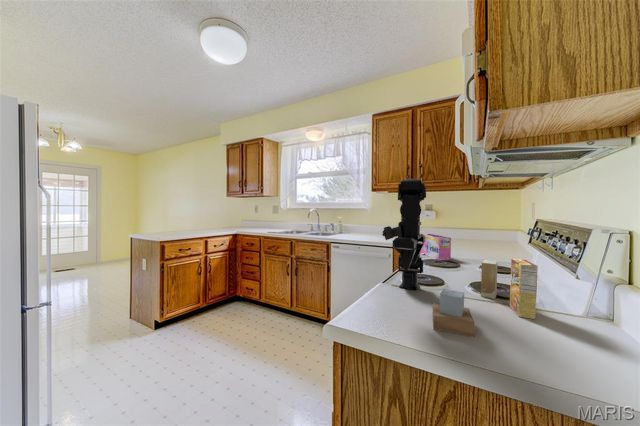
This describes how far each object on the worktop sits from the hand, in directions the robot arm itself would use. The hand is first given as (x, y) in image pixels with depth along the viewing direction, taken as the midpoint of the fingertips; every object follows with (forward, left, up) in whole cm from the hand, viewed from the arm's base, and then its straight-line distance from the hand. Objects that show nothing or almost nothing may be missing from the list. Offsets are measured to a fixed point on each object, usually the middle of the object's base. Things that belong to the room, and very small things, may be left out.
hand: (409, 267), depth 81 cm
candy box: (-12, +30, -12) cm, 35 cm away
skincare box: (-24, +22, -12) cm, 35 cm away
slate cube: (+9, +13, -8) cm, 18 cm away
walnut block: (+9, +13, -12) cm, 20 cm away
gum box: (-90, -5, -12) cm, 91 cm away
